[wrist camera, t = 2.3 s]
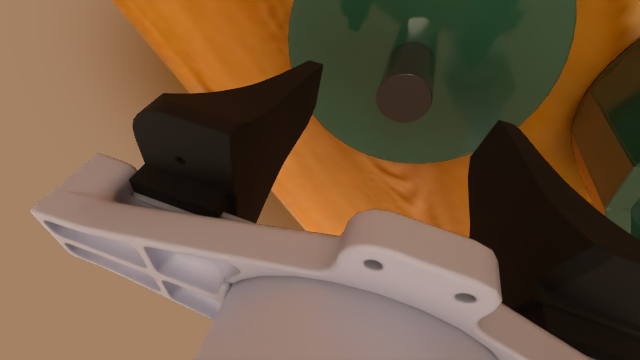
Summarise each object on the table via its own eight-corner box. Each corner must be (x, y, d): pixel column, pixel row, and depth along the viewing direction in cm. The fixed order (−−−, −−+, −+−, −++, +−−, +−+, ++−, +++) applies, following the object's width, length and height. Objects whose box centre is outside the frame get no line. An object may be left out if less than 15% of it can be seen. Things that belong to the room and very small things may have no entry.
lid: (521, 159, 19) (534, 216, 16) (317, 147, 23) (296, 191, 20) (637, -161, 10) (718, -170, 7) (266, -82, 14) (215, -66, 11)
